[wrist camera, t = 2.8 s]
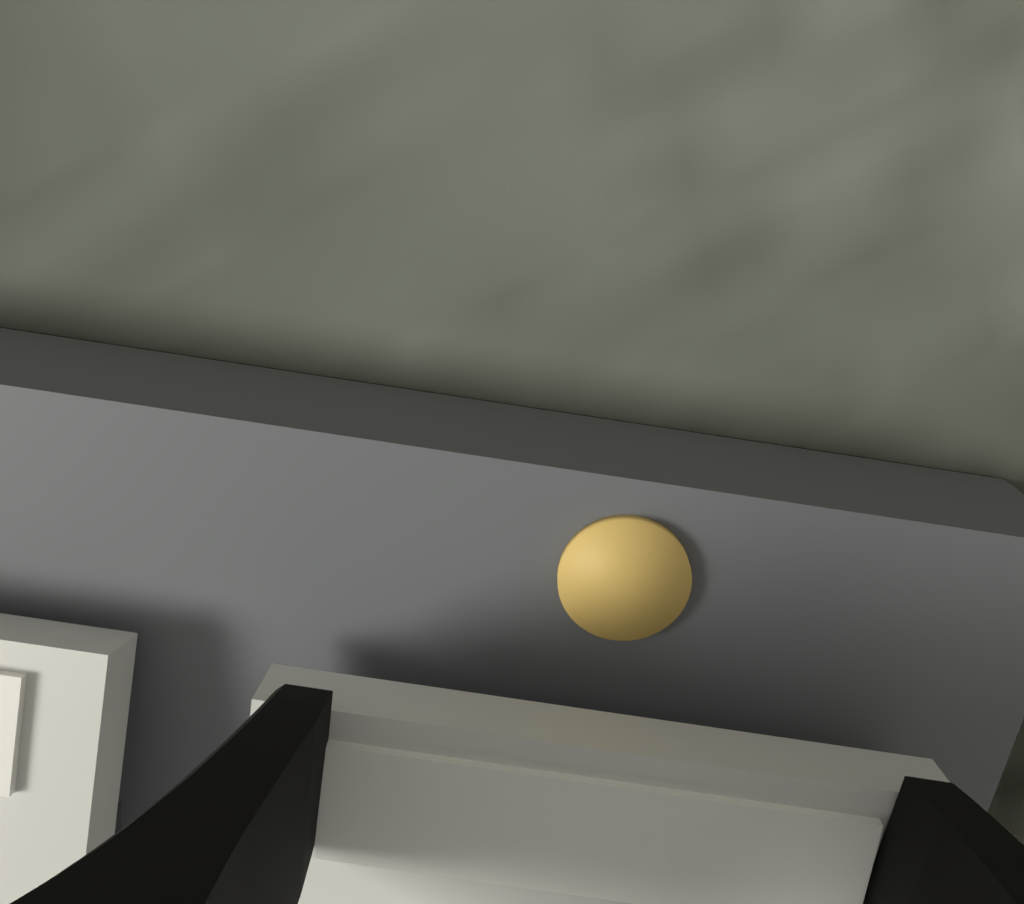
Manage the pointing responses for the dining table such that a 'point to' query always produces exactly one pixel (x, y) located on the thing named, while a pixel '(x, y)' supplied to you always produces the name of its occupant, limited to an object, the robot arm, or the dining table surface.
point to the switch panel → (497, 560)
